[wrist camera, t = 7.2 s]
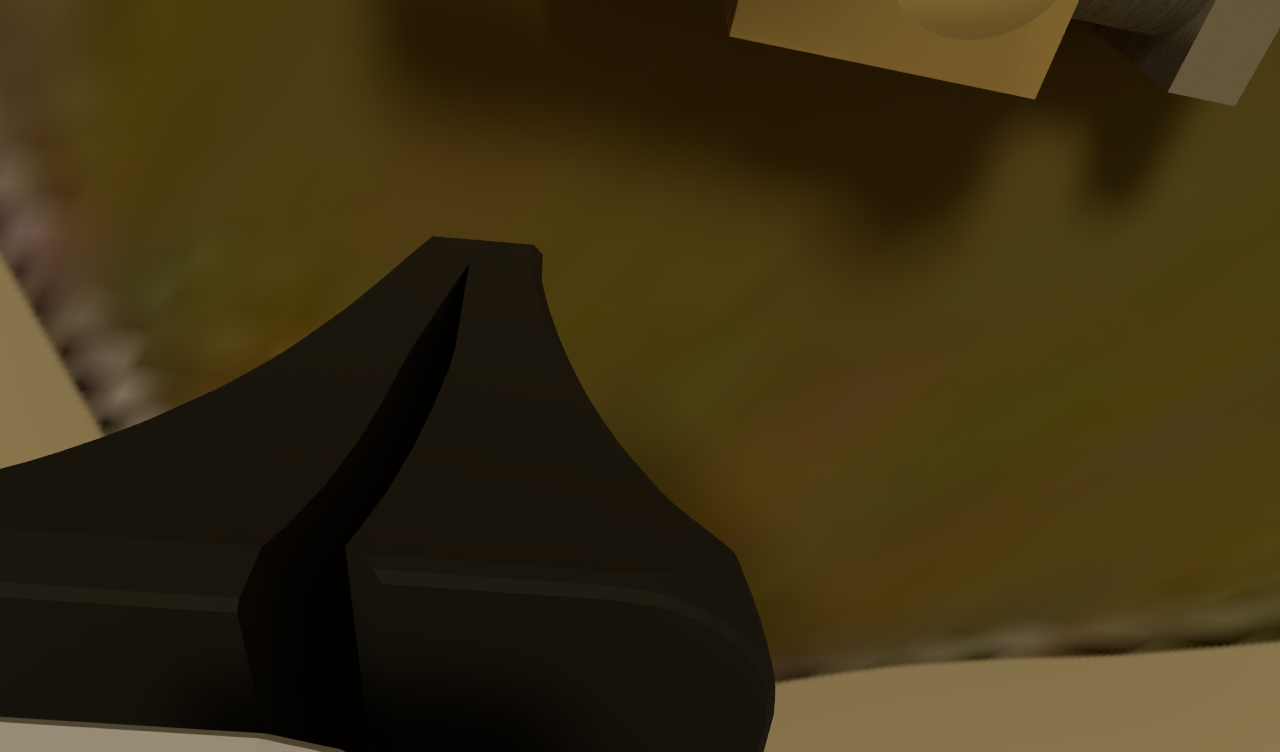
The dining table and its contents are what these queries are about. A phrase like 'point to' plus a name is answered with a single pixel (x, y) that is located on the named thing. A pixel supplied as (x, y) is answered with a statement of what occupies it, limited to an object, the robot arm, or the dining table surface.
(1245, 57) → the valve
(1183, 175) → the dining table surface
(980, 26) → the lever
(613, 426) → the dining table surface
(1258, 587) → the dining table surface
